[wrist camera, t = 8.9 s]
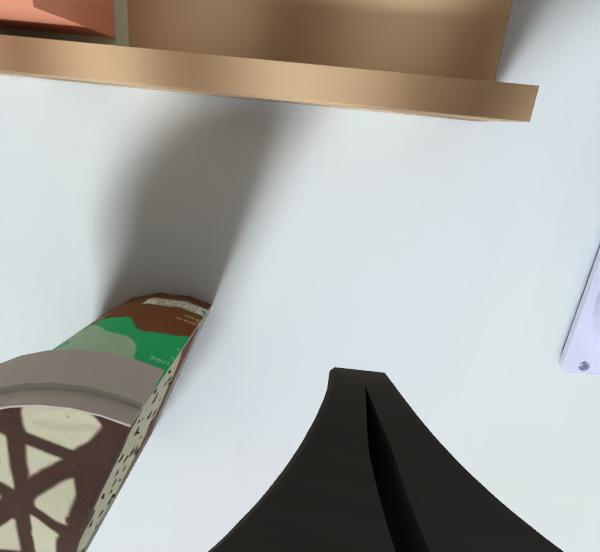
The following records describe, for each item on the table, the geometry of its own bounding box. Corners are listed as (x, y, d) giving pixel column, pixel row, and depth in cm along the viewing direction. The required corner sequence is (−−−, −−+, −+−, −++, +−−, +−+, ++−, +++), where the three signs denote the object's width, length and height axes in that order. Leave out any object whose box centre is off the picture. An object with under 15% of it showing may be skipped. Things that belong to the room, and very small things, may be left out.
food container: (106, 223, 20) (-86, 313, 11) (223, 280, 21) (137, 411, 11) (43, 410, 24) (-135, 591, 15) (142, 452, 25) (31, 651, 16)
